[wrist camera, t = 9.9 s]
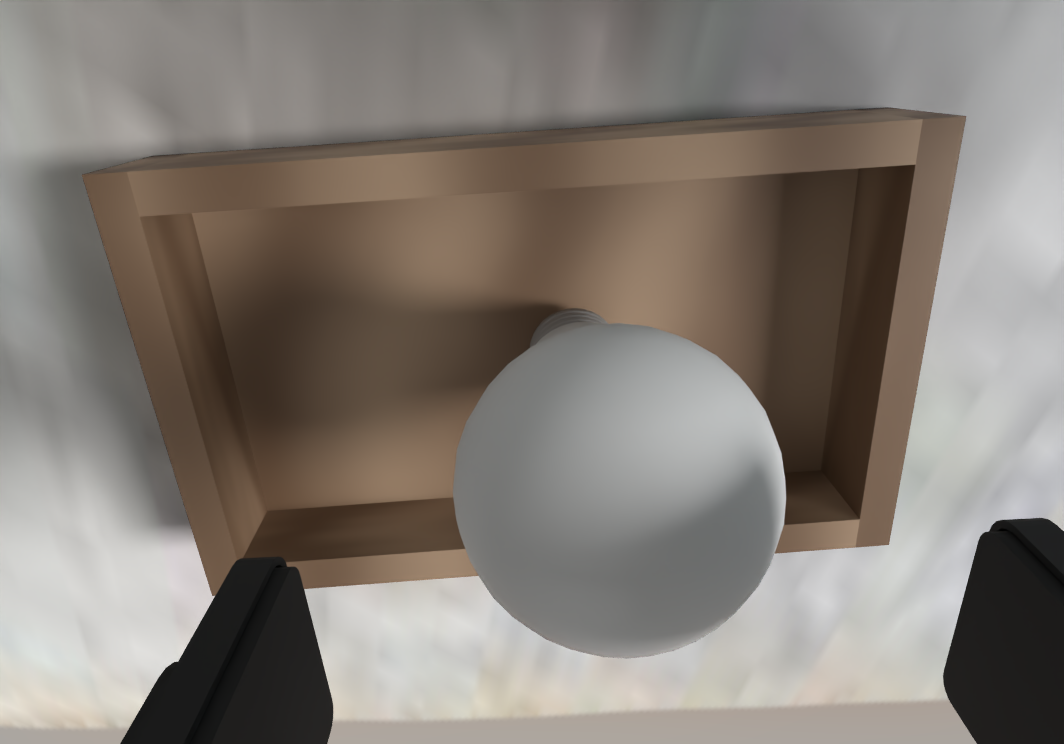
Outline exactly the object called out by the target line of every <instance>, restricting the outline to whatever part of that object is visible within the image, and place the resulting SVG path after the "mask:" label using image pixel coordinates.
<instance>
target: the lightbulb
mask: <svg viewBox="0 0 1064 744" xmlns="http://www.w3.org/2000/svg"><path fill="white" fill-rule="evenodd" d="M453 498H454V506H455V514H456V521H457V524H458V528H459V532H460V535H461V538H462V541H463V544H464V546H465V549H466V552H467V554H468V557H469V560H470V562H471V564H472V565H473V567H474V569H475V570H476V572H477V574H478V575H479V577H480V578H481V580H482V581H483V583H484V584H485V586H486V587H487V589H488V590H489V592H490V594H491V595H492V597H493V598H494V599H495V600H496V601H497V602H498V603H499V604H500V605H501V606H502V607H503V608H504V609H505V610H506V611H507V612H508V613H509V614H510V615H511V616H512V617H514V618H515V619H517V620H518V621H519V622H521V623H522V624H524V625H525V626H526V627H528V628H529V629H531V630H533V631H534V632H536V633H537V634H539V635H540V636H542V637H543V638H545V639H547V640H549V641H551V642H554V643H556V644H559V645H561V646H564V647H566V648H569V649H572V650H576V651H579V652H583V653H588V654H592V655H597V656H601V657H612V658H637V657H647V656H654V655H658V654H662V653H666V652H670V651H674V650H676V649H679V648H681V647H684V646H686V645H689V644H691V643H693V642H696V641H698V640H699V639H701V638H703V637H704V636H706V635H707V634H709V633H711V632H712V631H714V630H716V629H717V628H718V627H719V626H721V625H722V624H723V623H724V622H725V621H727V620H728V619H729V618H730V617H731V616H732V615H734V614H735V613H736V611H737V610H738V609H739V608H740V607H741V606H742V605H743V604H744V603H745V601H746V600H747V599H748V598H749V597H750V595H751V594H752V593H753V592H754V591H755V589H756V588H757V587H758V585H759V584H760V582H761V580H762V578H763V576H764V575H765V573H766V571H767V569H768V568H769V566H770V564H771V561H772V558H773V556H774V553H775V551H776V548H777V545H778V542H779V538H780V535H781V532H782V529H783V526H784V517H785V506H786V485H785V475H784V468H783V461H782V454H781V451H780V448H779V445H778V442H777V440H776V437H775V434H774V432H773V429H772V427H771V424H770V422H769V419H768V417H767V414H766V412H765V410H764V408H763V407H762V406H761V404H760V403H759V401H758V400H757V398H756V397H755V396H754V394H753V393H752V391H751V390H750V388H749V387H748V386H747V385H746V384H745V382H744V381H743V380H742V379H741V378H740V376H739V375H738V374H737V373H735V372H734V371H733V370H732V369H731V368H730V367H729V366H728V365H727V364H725V363H724V362H723V361H722V360H721V359H720V358H719V357H718V356H716V355H715V354H713V353H711V352H709V351H708V350H706V349H704V348H702V347H700V346H699V345H697V344H695V343H693V342H691V341H690V340H687V339H685V338H683V337H680V336H678V335H675V334H672V333H669V332H665V331H662V330H659V329H656V328H653V327H650V326H642V325H633V324H624V323H612V324H608V323H607V321H606V320H604V319H603V318H602V317H601V316H600V315H598V314H596V313H594V312H592V311H589V310H586V309H579V308H571V309H564V310H561V311H558V312H556V313H554V314H551V315H550V316H548V317H547V318H546V319H544V320H543V321H542V322H541V323H540V325H539V326H538V327H537V329H536V330H535V332H534V333H533V336H532V339H531V342H530V348H529V349H528V350H526V351H525V352H524V353H522V354H521V355H520V356H518V357H517V358H516V359H514V360H513V361H511V362H510V363H509V364H508V365H507V366H506V367H505V368H504V369H503V370H502V371H501V372H500V373H499V374H498V375H497V377H496V378H495V379H494V380H493V381H492V382H491V383H490V384H489V385H488V387H487V388H486V390H485V392H484V393H483V395H482V396H481V398H480V400H479V402H478V403H477V405H476V407H475V408H474V410H473V412H472V413H471V415H470V417H469V418H468V420H467V422H466V424H465V427H464V430H463V433H462V436H461V439H460V442H459V445H458V448H457V454H456V464H455V473H454V484H453Z"/></svg>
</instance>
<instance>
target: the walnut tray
mask: <svg viewBox="0 0 1064 744" xmlns="http://www.w3.org/2000/svg"><path fill="white" fill-rule="evenodd" d="M965 120H966V116H959V115H950V114H942V113H933V112H924V111H915V110H906V109H897V108H874V109H858V110H843V111H828V112H813V113H798V114H783V115H767V116H752V117H737V118H722V119H707V120H692V121H676V122H661V123H646V124H631V125H616V126H600V127H585V128H570V129H555V130H540V131H525V132H509V133H494V134H479V135H464V136H449V137H434V138H418V139H403V140H388V141H373V142H358V143H342V144H327V145H312V146H297V147H282V148H267V149H251V150H236V151H221V152H206V153H191V154H176V155H160V156H151V157H147V158H143V159H139V160H136V161H132V162H128V163H124V164H121V165H117V166H113V167H109V168H106V169H102V170H98V171H94V172H90V173H87V174H83V175H82V177H83V181H84V184H85V187H86V190H87V193H88V197H89V200H90V203H91V206H92V210H93V213H94V216H95V219H96V222H97V226H98V229H99V232H100V235H101V239H102V242H103V245H104V248H105V252H106V255H107V258H108V261H109V264H110V268H111V271H112V274H113V277H114V281H115V284H116V287H117V290H118V293H119V297H120V300H121V303H122V306H123V310H124V313H125V316H126V319H127V322H128V326H129V329H130V332H131V335H132V339H133V342H134V345H135V348H136V351H137V355H138V358H139V361H140V364H141V368H142V371H143V374H144V377H145V380H146V384H147V387H148V390H149V393H150V397H151V400H152V403H153V406H154V409H155V413H156V416H157V419H158V422H159V426H160V429H161V432H162V435H163V438H164V442H165V445H166V448H167V451H168V455H169V458H170V461H171V464H172V467H173V471H174V474H175V477H176V480H177V484H178V487H179V490H180V493H181V496H182V500H183V503H184V506H185V509H186V513H187V516H188V519H189V522H190V525H191V529H192V532H193V535H194V538H195V542H196V545H197V548H198V551H199V555H200V558H201V561H202V564H203V567H204V571H205V574H206V577H207V580H208V584H209V587H210V590H211V593H212V596H216V594H217V592H218V590H219V589H220V587H221V585H222V583H223V582H224V580H225V578H226V576H227V574H228V573H229V571H230V569H231V567H232V566H233V564H234V563H235V562H236V561H237V560H239V559H240V558H259V557H278V556H279V557H282V558H283V559H284V560H285V561H286V564H287V567H297V569H298V570H299V573H300V576H301V580H302V584H303V588H304V589H309V588H322V587H336V586H349V585H362V584H375V583H389V582H402V581H415V580H429V579H442V578H455V577H468V576H479V575H478V574H477V572H476V570H475V569H474V567H473V565H472V564H471V562H470V560H469V557H468V554H467V552H466V549H465V546H464V544H463V541H462V538H461V535H460V532H459V528H458V524H457V521H456V514H455V506H454V498H453V484H454V473H455V464H456V454H457V448H458V445H459V442H460V439H461V436H462V433H463V430H464V427H465V424H466V422H467V420H468V418H469V417H470V415H471V413H472V412H473V410H474V408H475V407H476V405H477V403H478V402H479V400H480V398H481V396H482V395H483V393H484V392H485V390H486V388H487V387H488V385H489V384H490V383H491V382H492V381H493V380H494V379H495V378H496V377H497V375H498V374H499V373H500V372H501V371H502V370H503V369H504V368H505V367H506V366H507V365H508V364H509V363H510V362H511V361H513V360H514V359H516V358H517V357H518V356H520V355H521V354H522V353H524V352H525V351H526V350H528V349H529V348H530V342H531V339H532V336H533V333H534V332H535V330H536V329H537V327H538V326H539V325H540V323H541V322H542V321H543V320H544V319H546V318H547V317H548V316H550V315H551V314H554V313H556V312H558V311H561V310H564V309H571V308H579V309H586V310H589V311H592V312H594V313H596V314H598V315H600V316H601V317H602V318H603V319H604V320H606V321H607V323H608V324H612V323H624V324H633V325H642V326H650V327H653V328H656V329H659V330H662V331H665V332H669V333H672V334H675V335H678V336H680V337H683V338H685V339H687V340H690V341H691V342H693V343H695V344H697V345H699V346H700V347H702V348H704V349H706V350H708V351H709V352H711V353H713V354H715V355H716V356H718V357H719V358H720V359H721V360H722V361H723V362H724V363H725V364H727V365H728V366H729V367H730V368H731V369H732V370H733V371H734V372H735V373H737V374H738V375H739V376H740V378H741V379H742V380H743V381H744V382H745V384H746V385H747V386H748V387H749V388H750V390H751V391H752V393H753V394H754V396H755V397H756V398H757V400H758V401H759V403H760V404H761V406H762V407H763V408H764V410H765V412H766V414H767V417H768V419H769V422H770V424H771V427H772V429H773V432H774V434H775V437H776V440H777V442H778V445H779V448H780V451H781V454H782V461H783V468H784V475H785V485H786V506H785V517H784V526H783V529H782V532H781V535H780V538H779V542H778V545H777V548H776V551H775V553H787V552H800V551H814V550H827V549H840V548H853V547H867V546H880V545H889V541H890V535H891V530H892V524H893V519H894V513H895V508H896V502H897V497H898V491H899V485H900V480H901V474H902V469H903V463H904V458H905V452H906V447H907V441H908V436H909V430H910V425H911V419H912V413H913V408H914V402H915V397H916V391H917V386H918V380H919V375H920V369H921V364H922V358H923V353H924V347H925V342H926V336H927V330H928V325H929V319H930V314H931V308H932V303H933V297H934V292H935V286H936V281H937V275H938V270H939V264H940V259H941V253H942V247H943V242H944V236H945V231H946V225H947V220H948V214H949V209H950V203H951V198H952V192H953V187H954V181H955V176H956V170H957V164H958V159H959V153H960V148H961V142H962V137H963V131H964V126H965Z"/></svg>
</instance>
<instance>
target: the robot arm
mask: <svg viewBox="0 0 1064 744" xmlns="http://www.w3.org/2000/svg"><path fill="white" fill-rule="evenodd" d="M943 680H944V687H945V691H946V693H947V696H948V698H949V700H950V702H951V704H952V705H953V707H954V709H955V710H956V711H957V713H958V715H959V716H960V718H961V720H962V721H963V723H964V724H965V726H966V727H967V729H968V730H969V732H970V734H971V735H972V737H973V738H974V740H975V741H976V743H977V744H1064V531H1063V530H1061V529H1060V528H1059V527H1058V526H1057V525H1056V524H1054V523H1053V522H1051V521H1050V520H1048V519H1044V518H1033V519H1013V520H1000V521H996V522H995V523H994V524H993V525H992V526H991V529H990V531H989V532H985V533H983V534H982V535H981V537H980V539H979V541H978V545H977V549H976V553H975V556H974V560H973V564H972V568H971V571H970V575H969V579H968V583H967V586H966V590H965V594H964V598H963V601H962V605H961V609H960V613H959V616H958V620H957V624H956V628H955V631H954V635H953V639H952V643H951V646H950V650H949V654H948V658H947V661H946V665H945V669H944V674H943ZM332 721H333V702H332V697H331V693H330V689H329V685H328V682H327V678H326V674H325V670H324V666H323V662H322V658H321V654H320V650H319V646H318V642H317V638H316V635H315V631H314V627H313V623H312V619H311V615H310V611H309V607H308V603H307V599H306V595H305V591H304V588H303V584H302V580H301V576H300V573H299V570H298V569H297V567H287V564H286V561H285V560H284V559H283V558H282V557H279V556H278V557H259V558H240V559H239V560H237V561H236V562H235V563H234V564H233V566H232V567H231V569H230V571H229V573H228V574H227V576H226V578H225V580H224V582H223V583H222V585H221V587H220V589H219V590H218V592H217V594H216V596H215V598H214V599H213V601H212V603H211V605H210V606H209V608H208V610H207V612H206V613H205V615H204V617H203V619H202V621H201V622H200V624H199V626H198V628H197V629H196V631H195V633H194V635H193V637H192V638H191V640H190V642H189V644H188V645H187V647H186V649H185V651H184V653H183V654H182V656H181V658H180V660H179V661H178V662H174V663H172V664H171V665H169V666H168V667H167V668H166V669H165V670H164V671H163V673H162V674H161V675H160V677H159V678H158V680H157V681H156V683H155V685H154V687H153V688H152V690H151V692H150V693H149V695H148V697H147V699H146V700H145V702H144V704H143V705H142V707H141V709H140V711H139V712H138V714H137V716H136V718H135V719H134V721H133V723H132V724H131V726H130V728H129V730H128V731H127V733H126V735H125V737H124V738H123V740H122V742H121V744H327V742H328V739H329V735H330V731H331V727H332Z"/></svg>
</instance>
